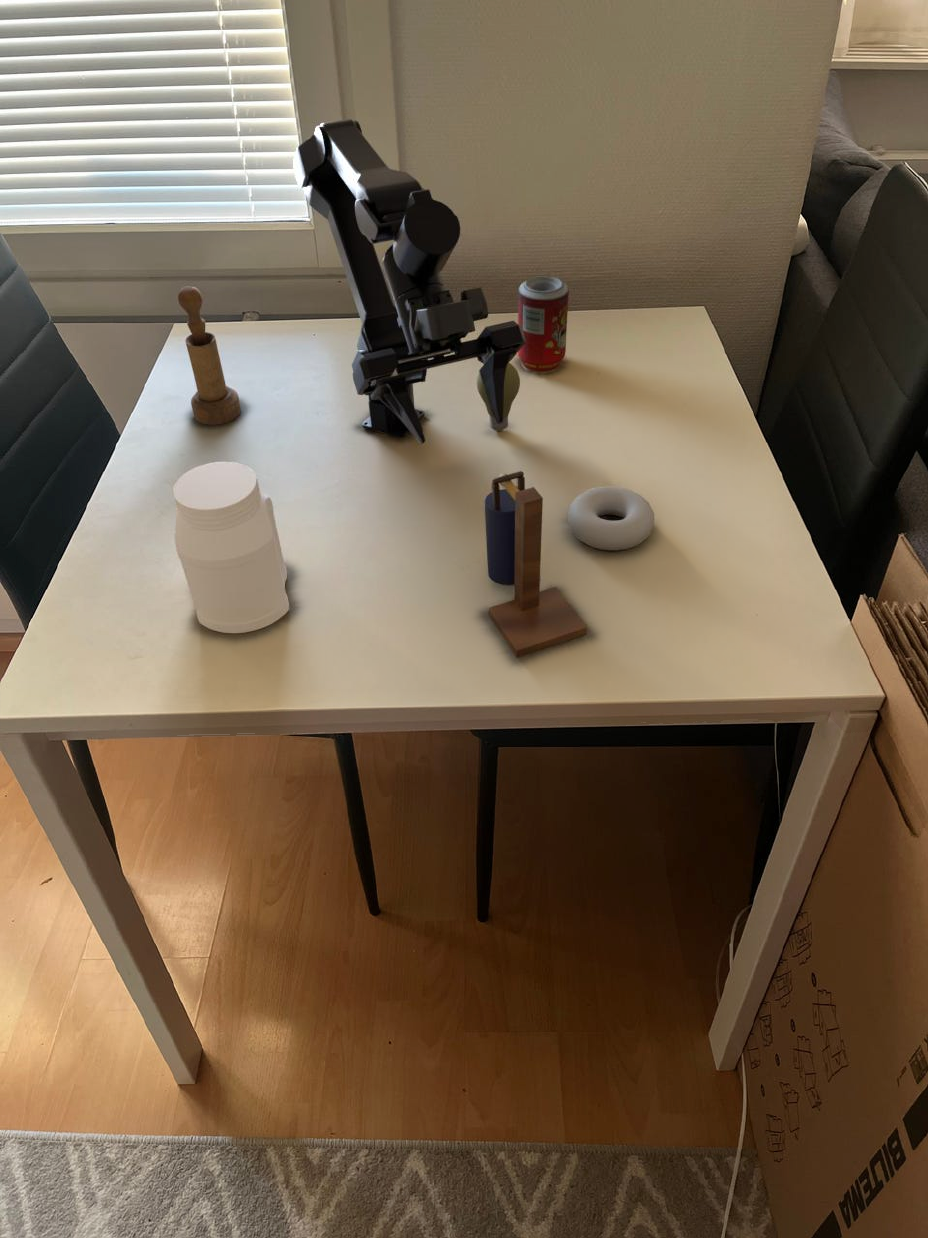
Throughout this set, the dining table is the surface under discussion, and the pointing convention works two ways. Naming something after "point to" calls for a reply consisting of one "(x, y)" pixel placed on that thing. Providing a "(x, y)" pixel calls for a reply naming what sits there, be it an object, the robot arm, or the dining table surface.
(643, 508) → the donut
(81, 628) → the dining table surface
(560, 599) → the hook stand
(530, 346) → the soda can
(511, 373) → the light bulb
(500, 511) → the blue handled weight
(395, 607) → the dining table surface
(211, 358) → the mortar and pestle
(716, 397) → the dining table surface
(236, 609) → the jar
